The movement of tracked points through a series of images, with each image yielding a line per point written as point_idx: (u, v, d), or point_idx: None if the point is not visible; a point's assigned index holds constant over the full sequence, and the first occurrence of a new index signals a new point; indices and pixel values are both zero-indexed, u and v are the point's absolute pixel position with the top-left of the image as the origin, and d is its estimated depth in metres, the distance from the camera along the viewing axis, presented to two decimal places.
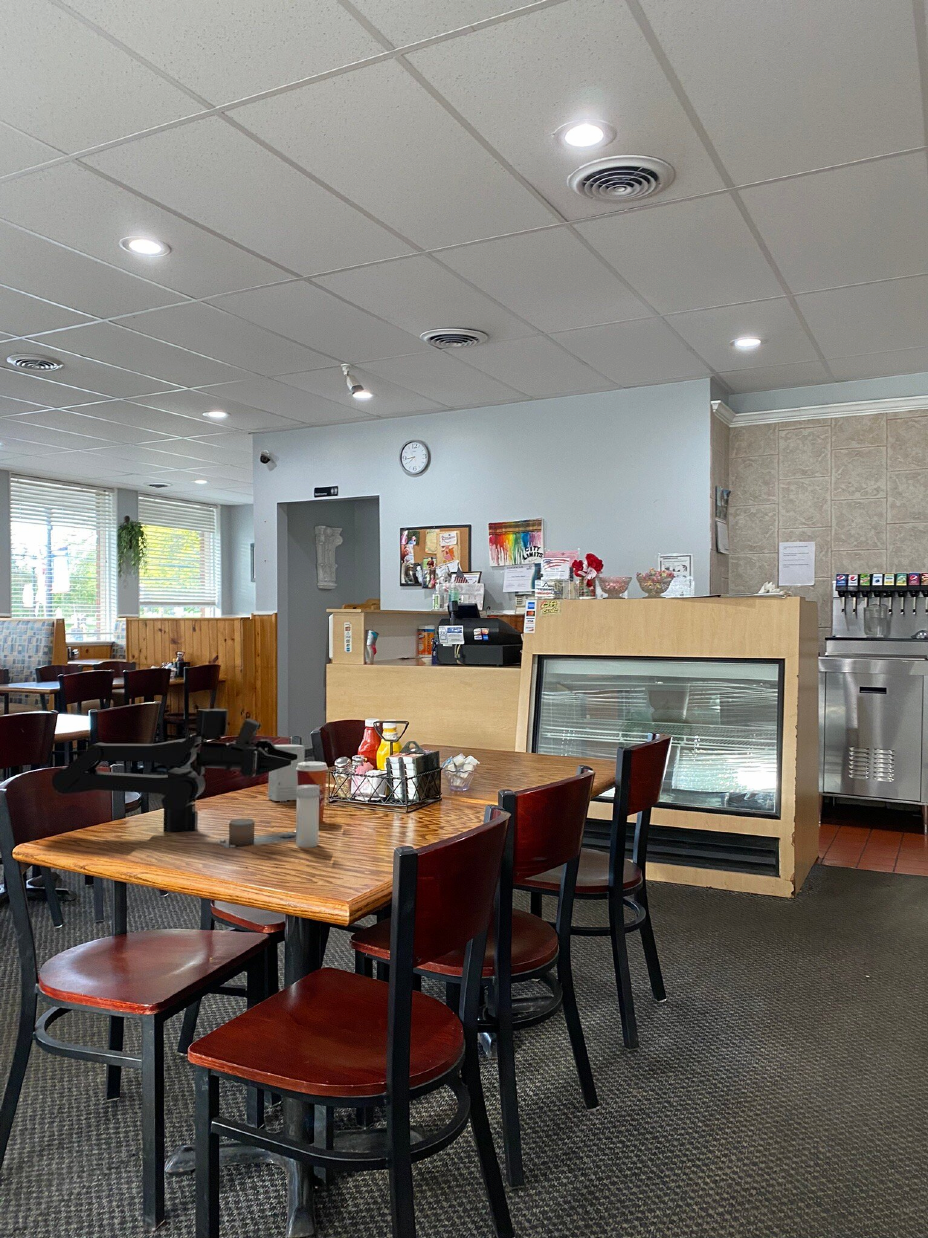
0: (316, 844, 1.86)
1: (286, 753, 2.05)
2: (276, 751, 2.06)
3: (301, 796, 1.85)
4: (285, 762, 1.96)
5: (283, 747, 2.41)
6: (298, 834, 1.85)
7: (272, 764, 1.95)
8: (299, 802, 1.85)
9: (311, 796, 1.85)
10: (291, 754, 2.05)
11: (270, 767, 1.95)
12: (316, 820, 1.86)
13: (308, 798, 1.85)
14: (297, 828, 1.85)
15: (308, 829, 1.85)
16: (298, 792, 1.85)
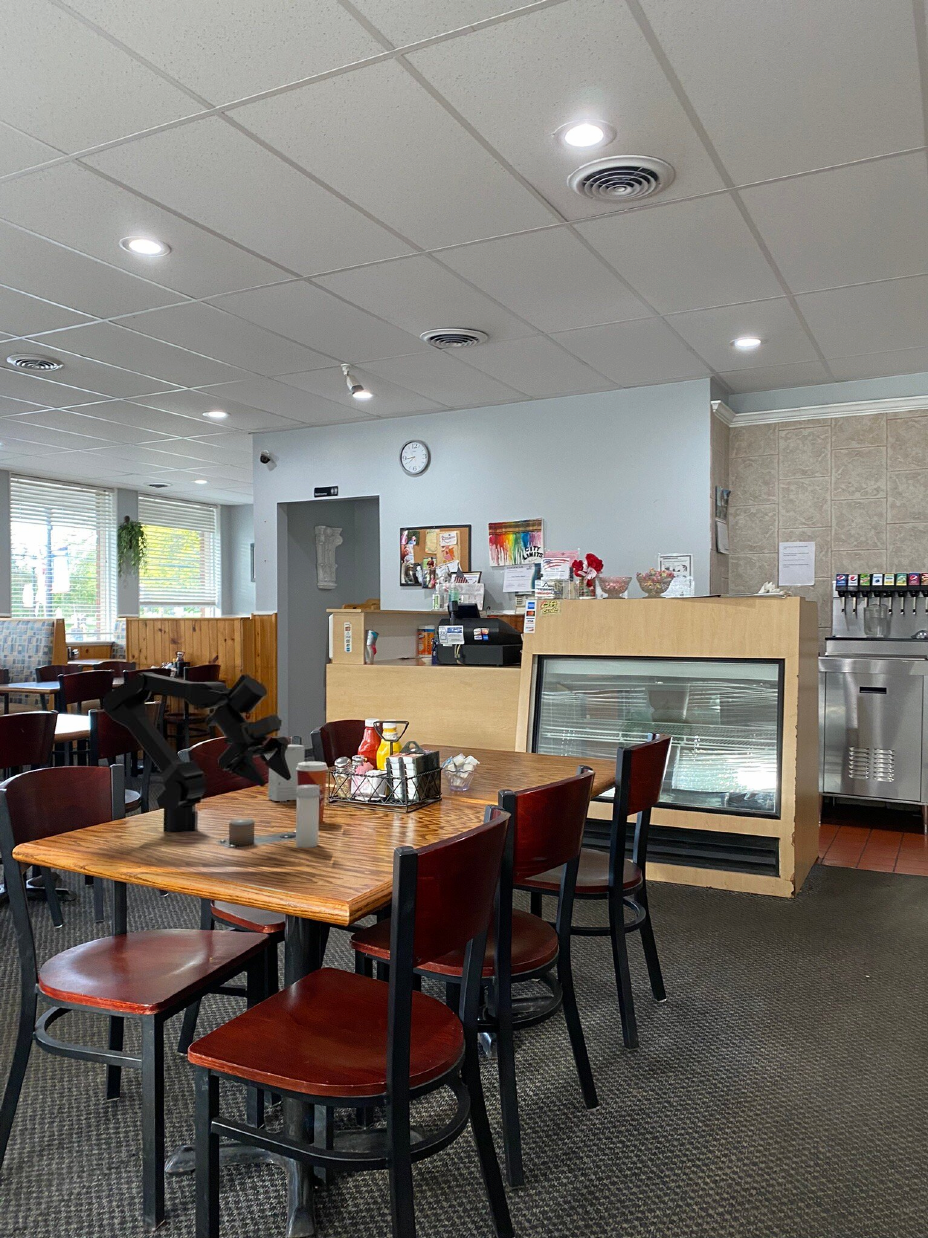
0: (316, 844, 1.86)
1: (284, 768, 1.95)
2: (280, 759, 1.96)
3: (301, 796, 1.85)
4: (260, 781, 1.86)
5: None
6: (298, 834, 1.85)
7: (248, 773, 1.86)
8: (299, 802, 1.85)
9: (311, 796, 1.85)
10: (286, 773, 1.94)
11: (245, 774, 1.86)
12: (316, 820, 1.86)
13: (308, 798, 1.85)
14: (297, 828, 1.85)
15: (308, 829, 1.85)
16: (298, 792, 1.85)
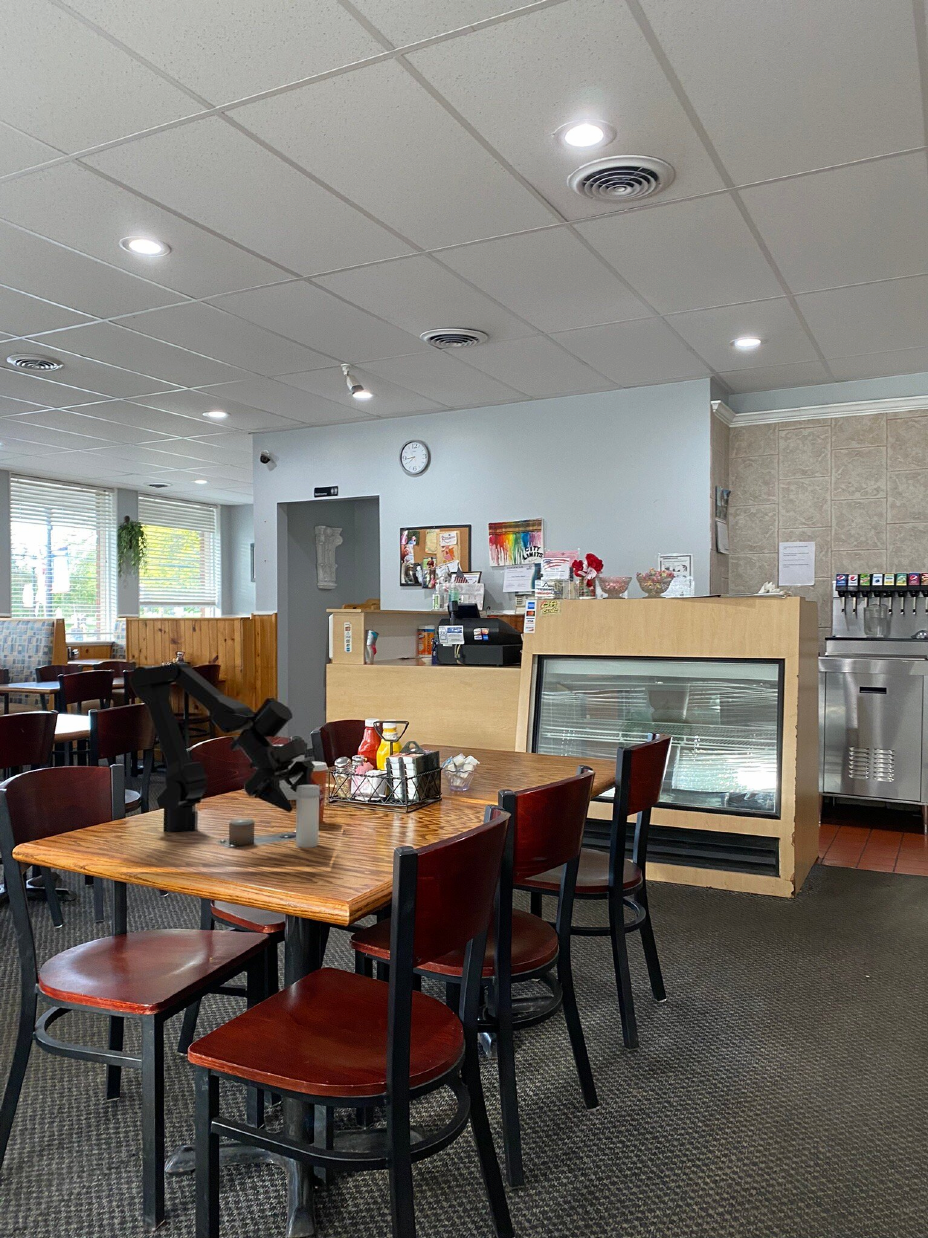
0: (316, 844, 1.86)
1: None
2: (306, 783, 1.93)
3: (301, 796, 1.85)
4: (287, 807, 1.83)
5: None
6: (298, 834, 1.85)
7: (275, 799, 1.83)
8: (299, 802, 1.85)
9: (311, 796, 1.85)
10: None
11: (272, 800, 1.83)
12: (316, 820, 1.86)
13: (308, 798, 1.85)
14: (297, 828, 1.85)
15: (308, 829, 1.85)
16: (298, 792, 1.85)
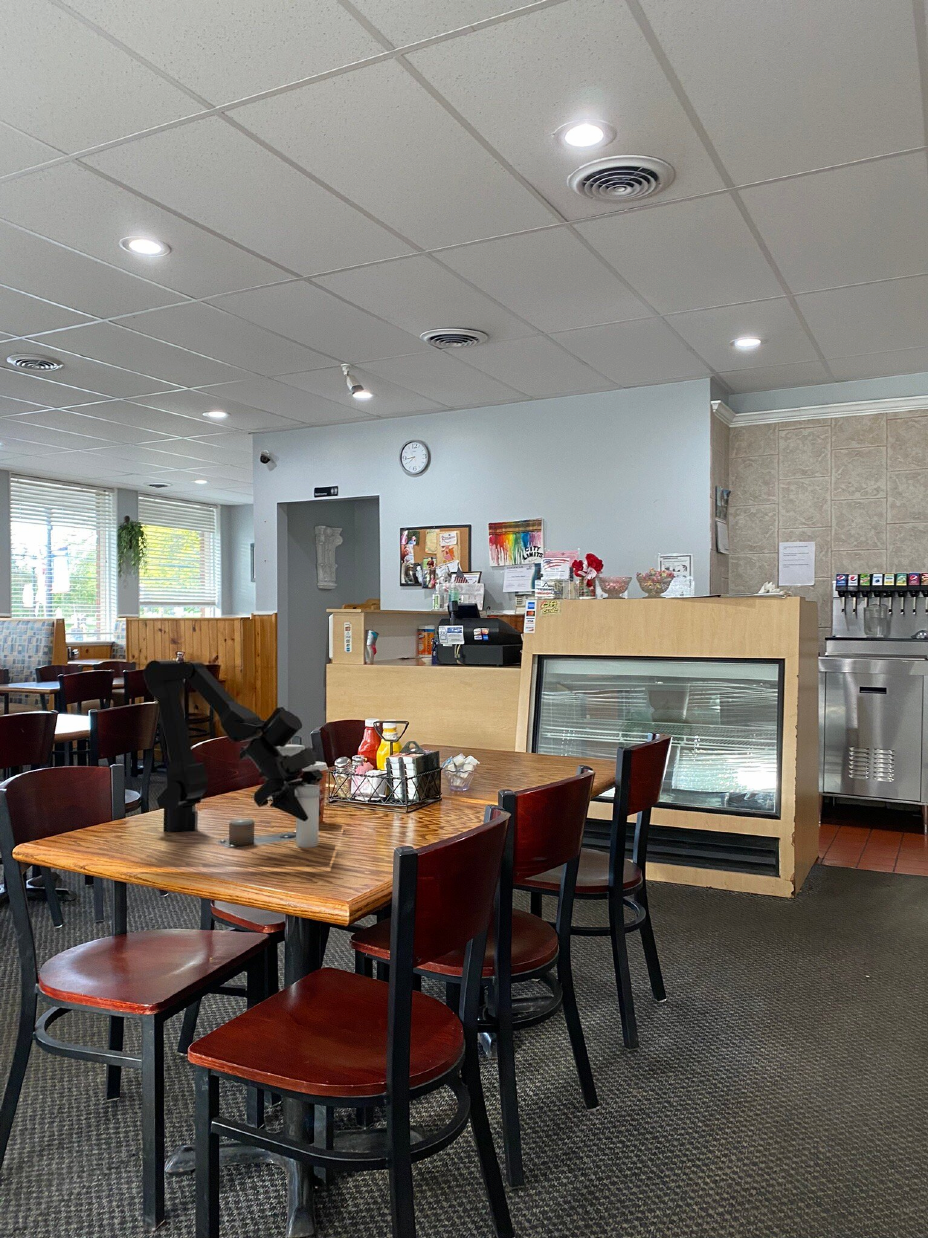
0: (316, 844, 1.86)
1: None
2: None
3: (301, 796, 1.85)
4: (302, 816, 1.84)
5: (283, 747, 2.41)
6: (298, 834, 1.85)
7: (290, 808, 1.84)
8: (299, 802, 1.85)
9: (311, 796, 1.85)
10: None
11: (287, 809, 1.84)
12: (316, 820, 1.86)
13: (308, 798, 1.85)
14: (297, 828, 1.85)
15: (308, 829, 1.85)
16: (298, 792, 1.85)
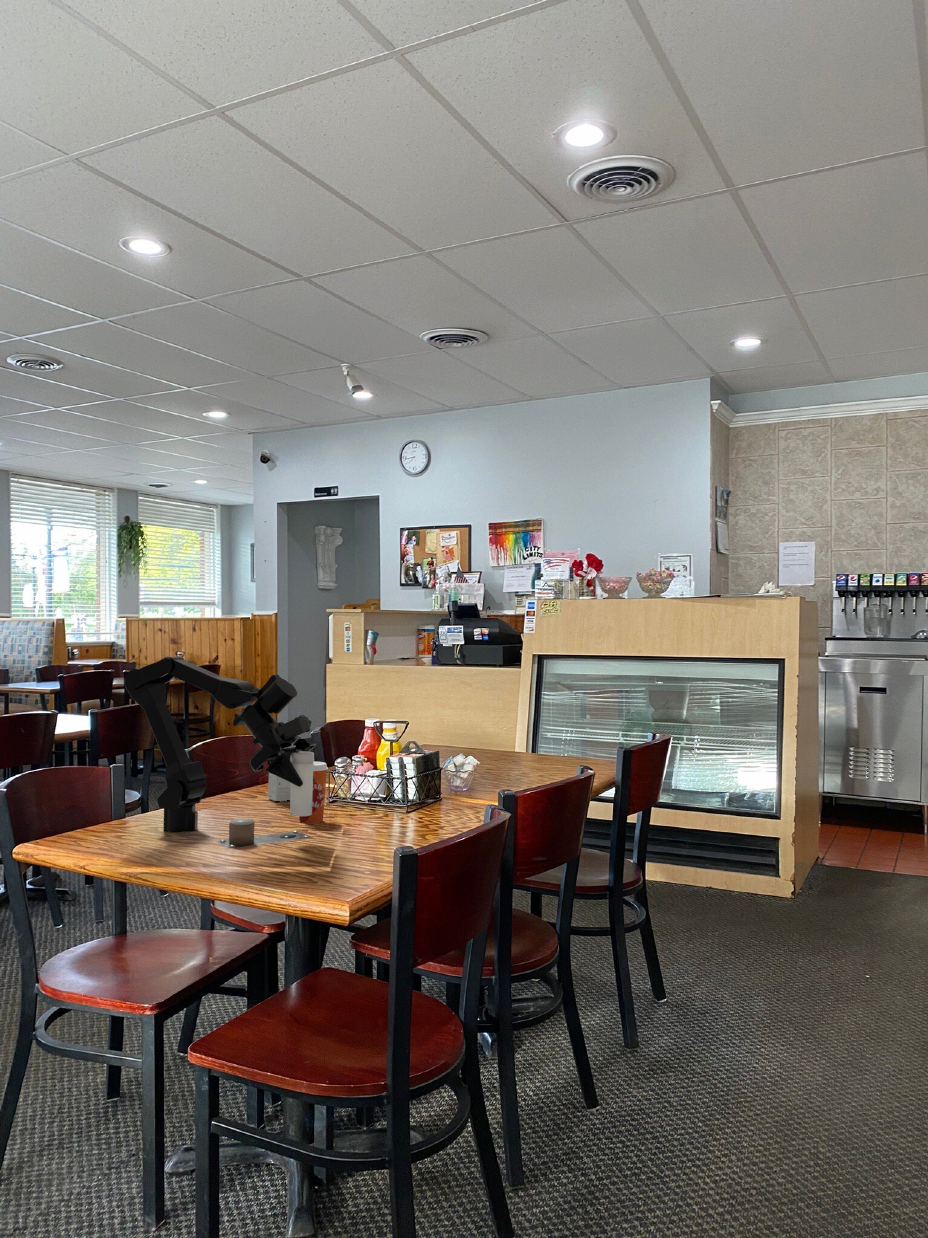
0: (310, 809, 1.89)
1: None
2: None
3: (296, 762, 1.88)
4: (297, 781, 1.87)
5: None
6: (293, 799, 1.88)
7: (286, 773, 1.87)
8: (294, 767, 1.88)
9: (307, 762, 1.88)
10: None
11: (282, 774, 1.87)
12: (311, 786, 1.89)
13: (303, 764, 1.88)
14: (292, 793, 1.88)
15: (302, 795, 1.87)
16: (293, 758, 1.88)
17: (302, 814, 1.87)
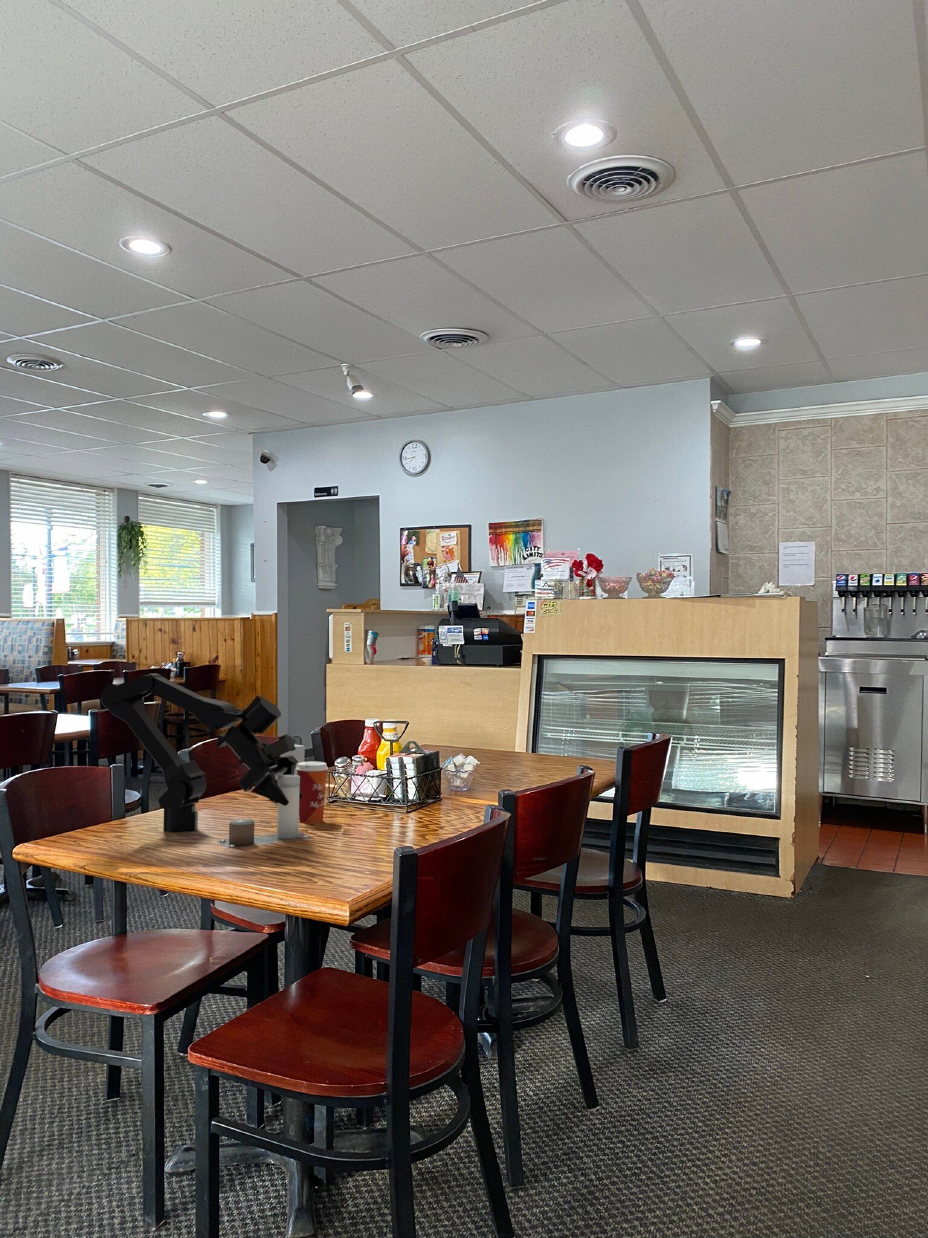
0: (297, 831, 1.94)
1: None
2: None
3: (284, 786, 1.92)
4: (283, 800, 1.90)
5: None
6: (281, 822, 1.92)
7: (271, 793, 1.90)
8: (282, 791, 1.93)
9: (294, 785, 1.93)
10: None
11: (268, 794, 1.90)
12: (297, 808, 1.94)
13: (291, 787, 1.93)
14: (279, 816, 1.93)
15: (290, 817, 1.92)
16: (280, 782, 1.93)
17: (290, 836, 1.92)
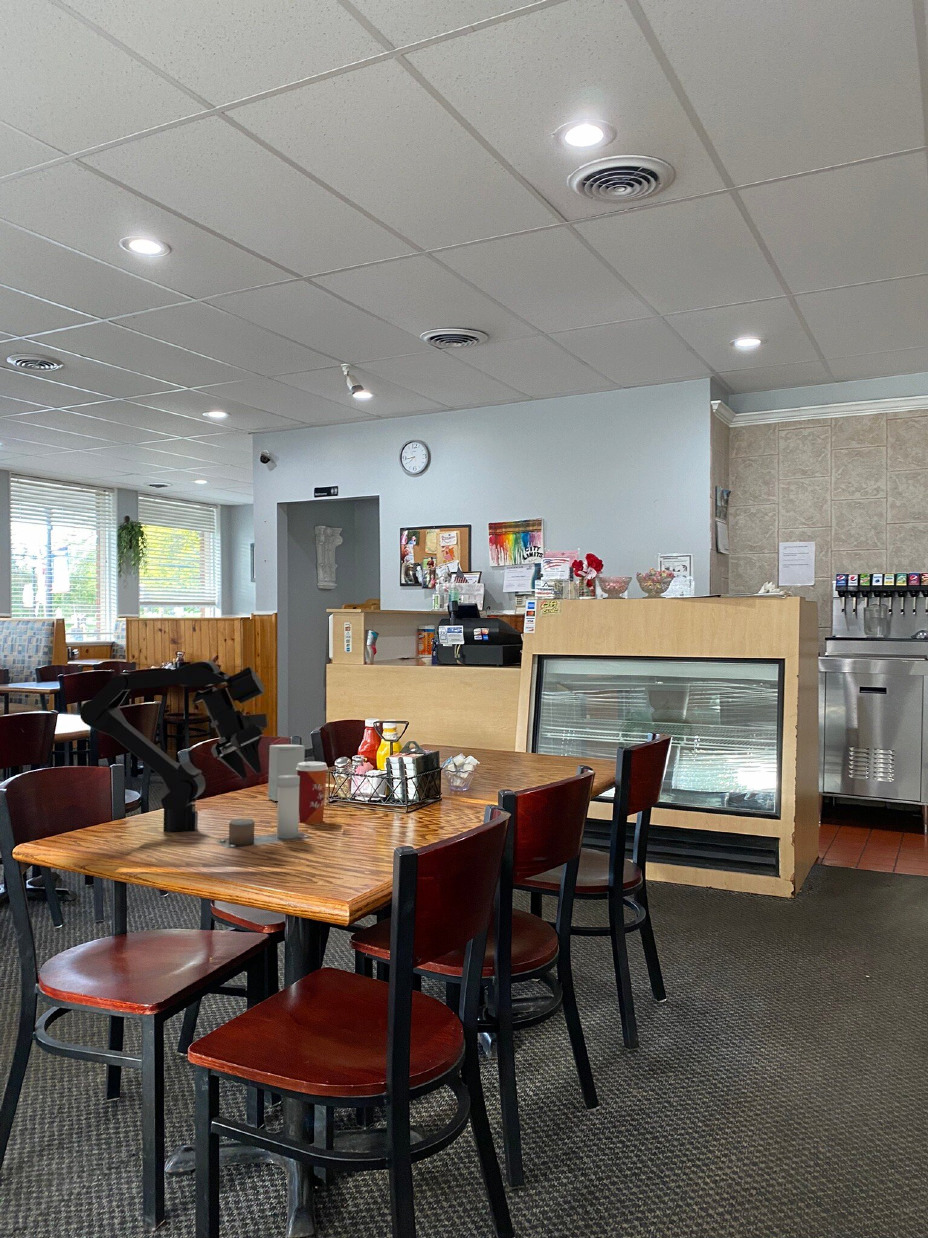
0: (297, 831, 1.94)
1: (243, 767, 2.04)
2: (239, 757, 2.05)
3: (284, 786, 1.92)
4: (258, 768, 1.96)
5: (283, 747, 2.41)
6: (281, 822, 1.92)
7: (251, 757, 1.95)
8: (281, 791, 1.93)
9: (294, 785, 1.93)
10: (245, 771, 2.04)
11: (248, 756, 1.95)
12: (297, 808, 1.94)
13: (290, 787, 1.93)
14: (279, 816, 1.93)
15: (290, 817, 1.92)
16: (280, 782, 1.93)
17: (290, 836, 1.92)
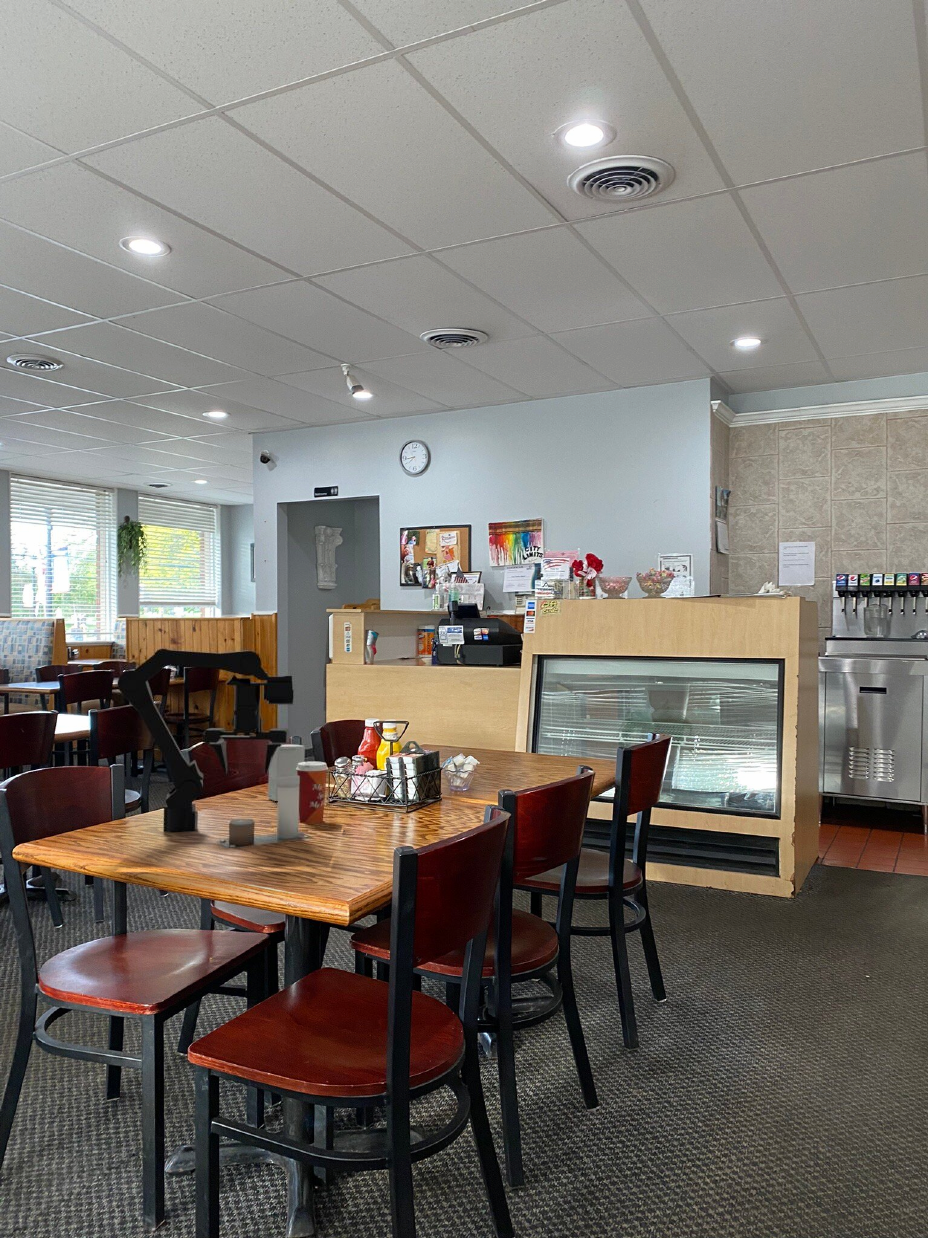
0: (297, 831, 1.94)
1: (226, 761, 2.04)
2: (225, 751, 2.05)
3: (283, 786, 1.92)
4: (268, 768, 2.04)
5: (283, 747, 2.41)
6: (281, 822, 1.92)
7: (271, 757, 2.04)
8: (281, 791, 1.93)
9: (294, 785, 1.93)
10: None
11: (271, 755, 2.03)
12: (297, 808, 1.94)
13: (290, 787, 1.93)
14: (279, 816, 1.93)
15: (290, 817, 1.92)
16: (280, 782, 1.93)
17: (290, 836, 1.92)
